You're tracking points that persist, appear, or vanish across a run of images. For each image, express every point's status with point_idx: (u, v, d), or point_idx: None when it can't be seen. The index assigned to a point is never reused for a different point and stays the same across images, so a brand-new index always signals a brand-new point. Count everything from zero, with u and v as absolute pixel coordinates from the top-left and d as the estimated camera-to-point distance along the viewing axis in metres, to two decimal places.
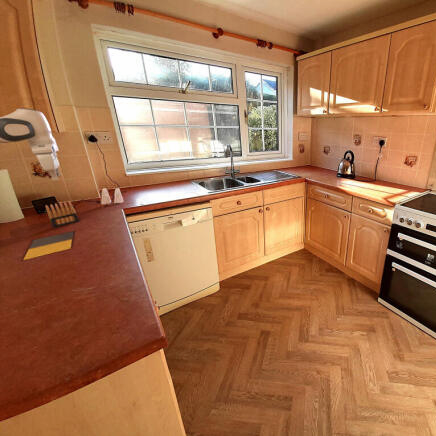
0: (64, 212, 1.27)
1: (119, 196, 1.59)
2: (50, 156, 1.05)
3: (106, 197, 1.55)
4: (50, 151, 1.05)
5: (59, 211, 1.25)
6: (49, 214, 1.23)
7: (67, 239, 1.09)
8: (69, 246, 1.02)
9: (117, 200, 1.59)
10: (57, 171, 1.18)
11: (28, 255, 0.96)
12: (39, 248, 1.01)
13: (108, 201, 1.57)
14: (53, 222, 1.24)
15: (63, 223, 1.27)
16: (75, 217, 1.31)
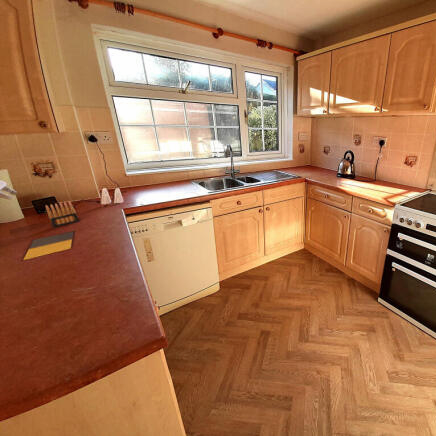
0: (64, 212, 1.27)
1: (119, 196, 1.59)
2: None
3: (106, 197, 1.55)
4: None
5: (59, 211, 1.25)
6: (49, 214, 1.23)
7: (67, 239, 1.09)
8: (69, 246, 1.02)
9: (117, 200, 1.59)
10: (10, 190, 1.18)
11: (28, 255, 0.96)
12: (39, 248, 1.01)
13: (108, 201, 1.57)
14: (53, 222, 1.24)
15: (63, 223, 1.27)
16: (75, 217, 1.31)
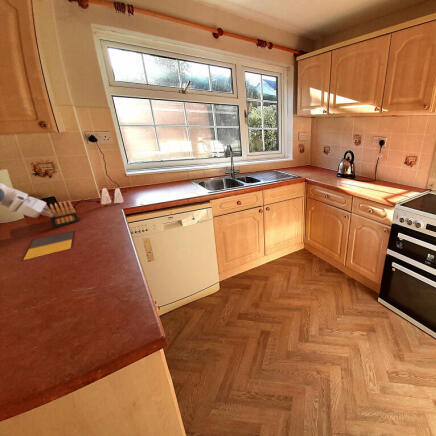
0: (64, 211, 1.27)
1: (119, 196, 1.59)
2: (24, 205, 1.11)
3: (106, 197, 1.55)
4: (20, 201, 1.10)
5: (59, 210, 1.26)
6: None
7: (67, 239, 1.09)
8: (69, 246, 1.02)
9: (117, 200, 1.59)
10: None
11: (28, 255, 0.96)
12: (39, 248, 1.01)
13: (108, 201, 1.57)
14: (53, 221, 1.24)
15: (63, 223, 1.27)
16: (75, 217, 1.31)
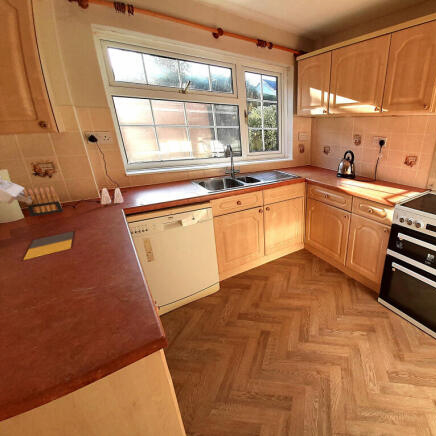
0: (45, 199, 1.08)
1: (119, 196, 1.59)
2: None
3: (106, 197, 1.55)
4: None
5: (39, 197, 1.07)
6: None
7: (67, 239, 1.09)
8: (69, 246, 1.02)
9: (117, 200, 1.59)
10: None
11: (28, 255, 0.96)
12: (39, 248, 1.01)
13: (108, 201, 1.57)
14: (31, 210, 1.06)
15: (43, 212, 1.09)
16: (58, 206, 1.11)
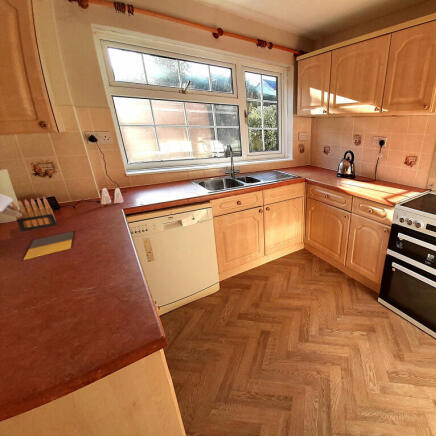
0: (36, 212, 0.96)
1: (119, 196, 1.59)
2: None
3: (106, 197, 1.55)
4: None
5: (29, 210, 0.95)
6: None
7: (67, 239, 1.09)
8: (69, 246, 1.02)
9: (117, 200, 1.59)
10: None
11: (28, 255, 0.96)
12: (39, 248, 1.01)
13: (108, 201, 1.57)
14: (20, 224, 0.94)
15: (34, 226, 0.97)
16: (51, 219, 0.99)
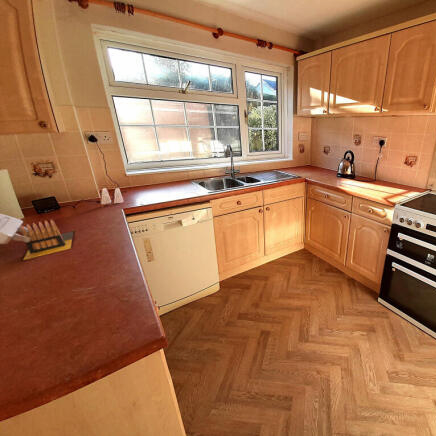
0: (44, 234, 0.98)
1: (119, 196, 1.59)
2: None
3: (106, 197, 1.55)
4: None
5: (38, 233, 0.97)
6: None
7: (67, 239, 1.09)
8: (69, 246, 1.02)
9: (117, 200, 1.59)
10: (26, 230, 0.98)
11: (28, 255, 0.96)
12: None
13: (108, 201, 1.57)
14: (30, 247, 0.97)
15: (43, 248, 0.99)
16: (59, 240, 1.02)
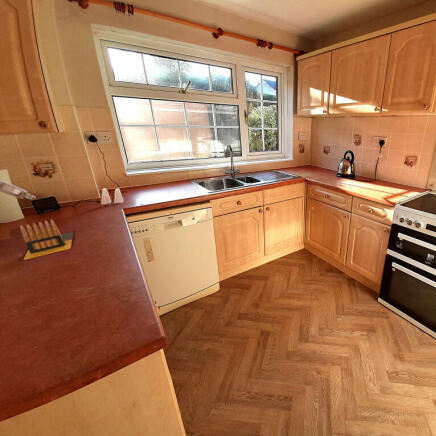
0: (44, 234, 0.98)
1: (119, 196, 1.59)
2: None
3: (106, 197, 1.55)
4: None
5: (38, 233, 0.97)
6: (24, 237, 0.95)
7: (67, 239, 1.09)
8: (69, 246, 1.02)
9: (117, 200, 1.59)
10: (27, 194, 0.94)
11: (28, 255, 0.96)
12: None
13: (108, 201, 1.57)
14: (30, 247, 0.97)
15: (43, 248, 0.99)
16: (59, 240, 1.02)
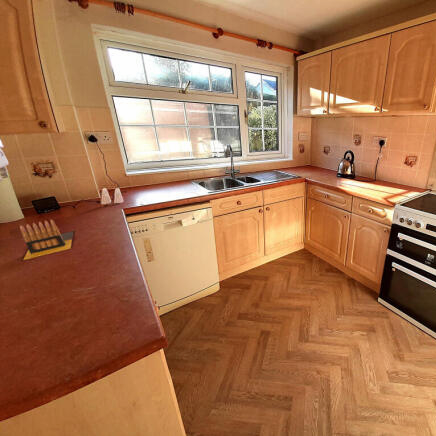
0: (44, 234, 0.98)
1: (119, 196, 1.59)
2: None
3: (106, 197, 1.55)
4: None
5: (38, 233, 0.97)
6: (24, 237, 0.95)
7: (67, 239, 1.09)
8: (69, 246, 1.02)
9: (117, 200, 1.59)
10: (5, 171, 1.01)
11: (28, 255, 0.96)
12: None
13: (108, 201, 1.57)
14: (30, 247, 0.97)
15: (43, 248, 0.99)
16: (59, 240, 1.02)
